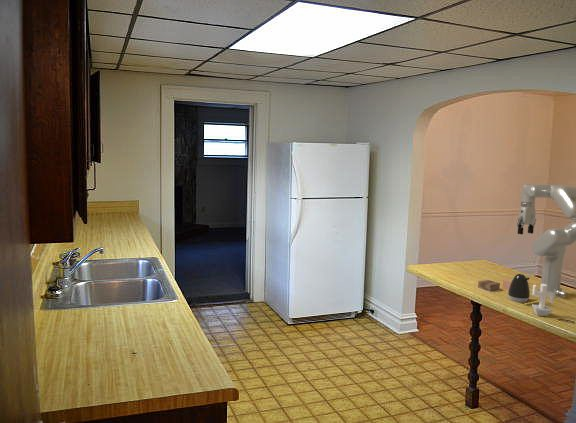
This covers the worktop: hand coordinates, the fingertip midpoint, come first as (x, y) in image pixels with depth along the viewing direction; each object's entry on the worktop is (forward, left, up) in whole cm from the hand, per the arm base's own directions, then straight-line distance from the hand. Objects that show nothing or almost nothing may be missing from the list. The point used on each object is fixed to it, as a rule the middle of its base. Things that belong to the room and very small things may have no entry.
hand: (525, 233), depth 298 cm
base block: (-3, +34, -29) cm, 45 cm away
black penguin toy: (-24, +37, -31) cm, 54 cm away
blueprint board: (-6, +29, -30) cm, 42 cm away
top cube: (-8, +23, -29) cm, 38 cm away
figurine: (-42, +45, -31) cm, 69 cm away
